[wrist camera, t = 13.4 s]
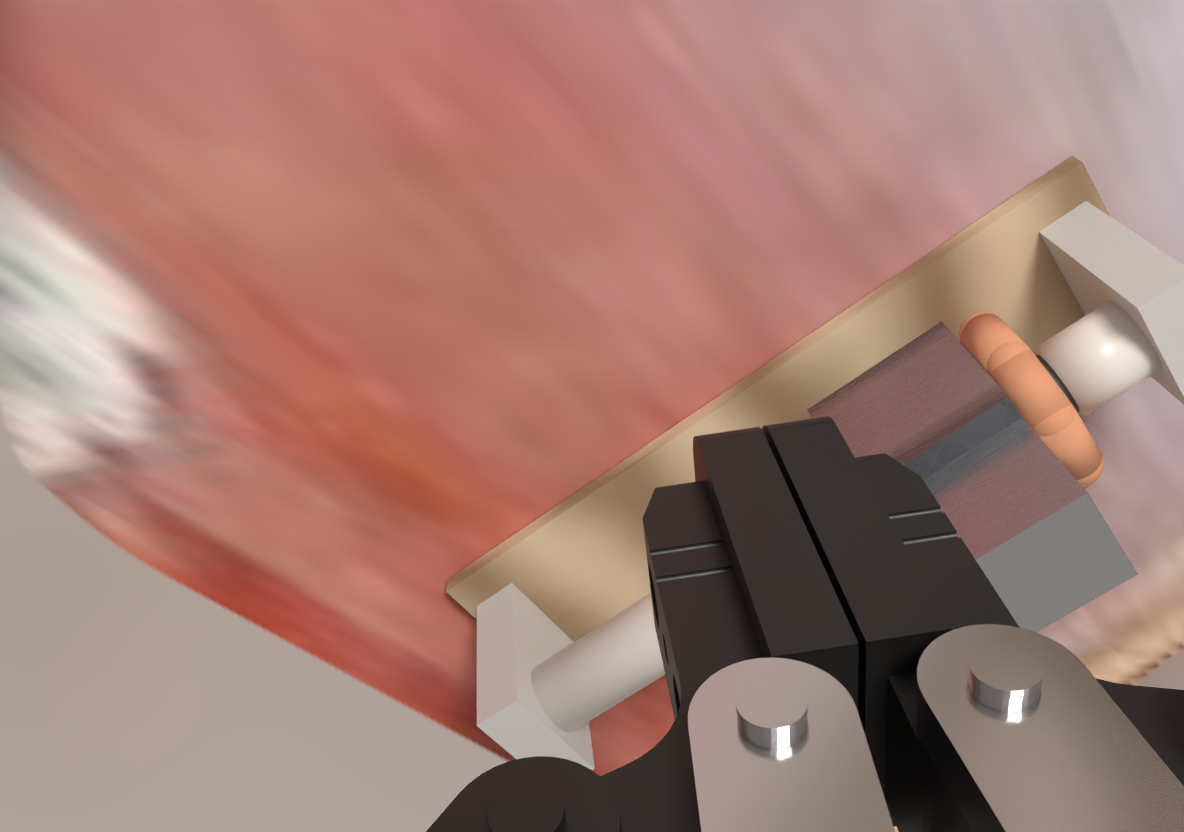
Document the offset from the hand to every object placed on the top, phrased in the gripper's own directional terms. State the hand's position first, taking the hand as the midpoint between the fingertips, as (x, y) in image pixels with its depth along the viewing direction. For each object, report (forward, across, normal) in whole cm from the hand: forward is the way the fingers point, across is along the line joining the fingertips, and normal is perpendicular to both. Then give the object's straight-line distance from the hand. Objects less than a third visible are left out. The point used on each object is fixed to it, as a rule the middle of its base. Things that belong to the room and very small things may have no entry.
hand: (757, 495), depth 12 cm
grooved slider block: (+26, -11, +16) cm, 33 cm away
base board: (+29, -7, +18) cm, 35 cm away
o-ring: (+27, -15, +14) cm, 33 cm away
